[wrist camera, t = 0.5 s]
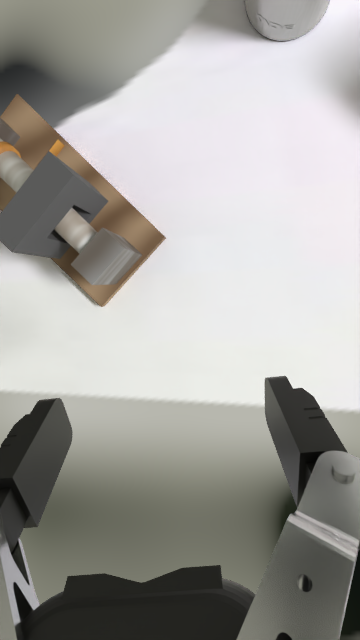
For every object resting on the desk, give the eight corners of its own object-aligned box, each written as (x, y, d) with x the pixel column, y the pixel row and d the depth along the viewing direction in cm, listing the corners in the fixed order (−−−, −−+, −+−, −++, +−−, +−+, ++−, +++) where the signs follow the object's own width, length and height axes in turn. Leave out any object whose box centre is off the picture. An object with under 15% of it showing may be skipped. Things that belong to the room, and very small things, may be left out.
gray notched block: (108, 201, 36) (73, 174, 27) (59, 259, 37) (11, 251, 28) (89, 183, 36) (48, 150, 27) (41, 241, 37) (-12, 229, 28)
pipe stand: (165, 237, 39) (151, 225, 30) (104, 306, 41) (73, 312, 32) (23, 99, 39) (-34, 45, 30) (-32, 174, 41) (-101, 144, 32)
